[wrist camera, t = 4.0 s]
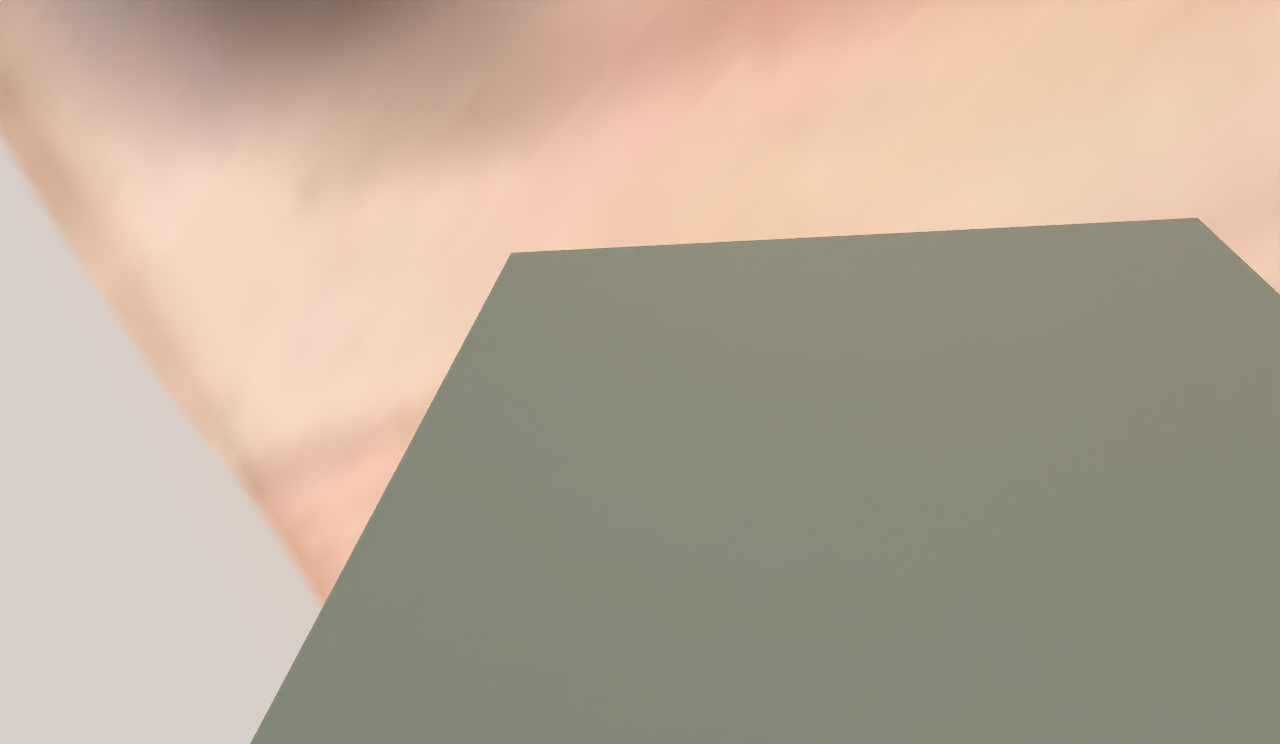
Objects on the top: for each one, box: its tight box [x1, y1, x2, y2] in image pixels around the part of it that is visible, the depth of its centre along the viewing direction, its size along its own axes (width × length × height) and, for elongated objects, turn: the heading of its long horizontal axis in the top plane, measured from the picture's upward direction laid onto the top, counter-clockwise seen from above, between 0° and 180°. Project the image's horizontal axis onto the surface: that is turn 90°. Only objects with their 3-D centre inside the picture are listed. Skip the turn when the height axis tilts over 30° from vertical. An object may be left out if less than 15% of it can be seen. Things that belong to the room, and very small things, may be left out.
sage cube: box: [251, 218, 1280, 744], centre depth 7 cm, size 5×5×5 cm
